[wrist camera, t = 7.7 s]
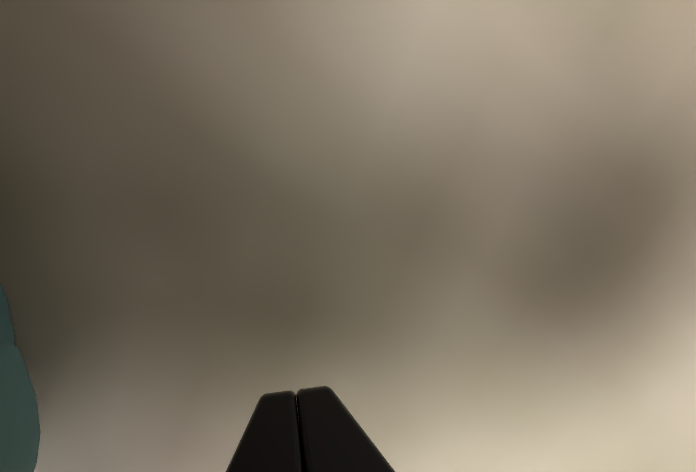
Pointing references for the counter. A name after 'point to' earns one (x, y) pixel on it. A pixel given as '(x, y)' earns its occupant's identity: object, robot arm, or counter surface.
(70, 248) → the counter surface
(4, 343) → the bracket
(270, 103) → the counter surface
